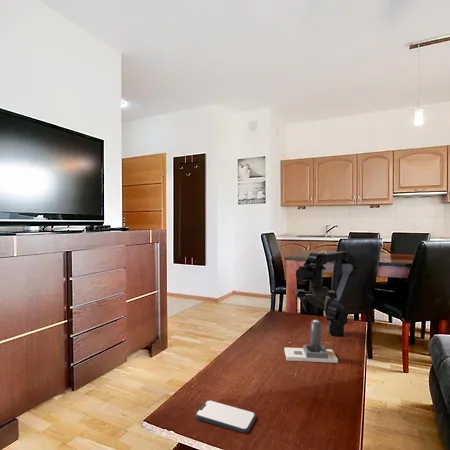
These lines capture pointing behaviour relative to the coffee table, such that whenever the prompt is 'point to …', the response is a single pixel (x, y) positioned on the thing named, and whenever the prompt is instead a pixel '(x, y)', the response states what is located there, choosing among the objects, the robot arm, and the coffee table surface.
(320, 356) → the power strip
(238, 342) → the coffee table surface
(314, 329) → the joystick
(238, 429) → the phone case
